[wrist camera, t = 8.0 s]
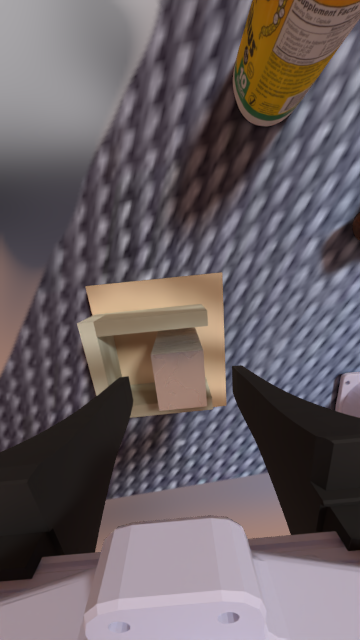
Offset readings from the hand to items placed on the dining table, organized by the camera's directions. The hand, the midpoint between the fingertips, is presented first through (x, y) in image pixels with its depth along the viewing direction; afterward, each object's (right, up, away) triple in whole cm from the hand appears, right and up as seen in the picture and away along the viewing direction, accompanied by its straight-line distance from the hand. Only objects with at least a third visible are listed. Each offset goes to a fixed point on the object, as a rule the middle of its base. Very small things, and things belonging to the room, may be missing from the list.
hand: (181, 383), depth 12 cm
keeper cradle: (-2, +1, +6) cm, 6 cm away
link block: (0, +1, +5) cm, 5 cm away
